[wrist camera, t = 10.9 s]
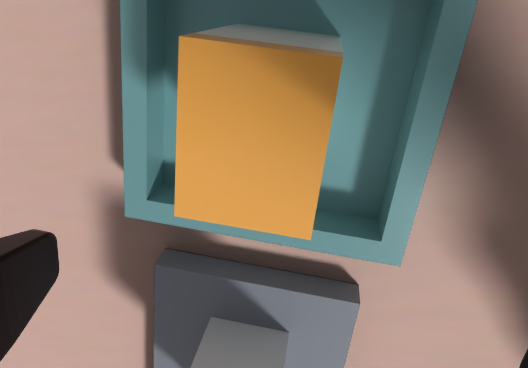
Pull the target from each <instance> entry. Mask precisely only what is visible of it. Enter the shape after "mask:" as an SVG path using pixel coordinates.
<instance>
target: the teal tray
mask: <svg viewBox="0 0 528 368" xmlns="http://www.w3.org/2000/svg"><path fill="white" fill-rule="evenodd" d="M477 1H478V0H120V23H121V69H122V114H123V160H124V205H125V217H129V218H135V219H140V220H146V221H152V222H157V223H163V224H168V225H174V226H179V227H185V228H190V229H196V230H201V231H207V232H212V233H218V234H223V235H229V236H234V237H240V238H245V239H251V240H256V241H262V242H267V243H273V244H278V245H284V246H289V247H295V248H300V249H306V250H311V251H317V252H322V253H328V254H333V255H339V256H344V257H350V258H355V259H361V260H366V261H372V262H377V263H383V264H388V265H394V266H401V262H402V259H403V256H404V252H405V249H406V245H407V242H408V238H409V235H410V232H411V228H412V225H413V221H414V218H415V214H416V211H417V207H418V204H419V201H420V197H421V194H422V190H423V187H424V183H425V180H426V177H427V173H428V170H429V166H430V163H431V159H432V156H433V152H434V149H435V146H436V142H437V139H438V135H439V132H440V128H441V125H442V122H443V118H444V115H445V111H446V108H447V104H448V101H449V97H450V94H451V91H452V87H453V84H454V80H455V77H456V73H457V70H458V67H459V63H460V60H461V56H462V53H463V49H464V46H465V42H466V39H467V36H468V32H469V29H470V25H471V22H472V18H473V15H474V12H475V8H476V5H477ZM238 23H240V24H247V25H255V26H263V27H271V28H279V29H287V30H295V31H303V32H311V33H318V34H326V35H334V36H341V43H342V51H343V62H342V68H341V73H340V79H339V84H338V90H337V96H336V101H335V107H334V112H333V118H332V124H331V129H330V135H329V141H328V146H327V152H326V157H325V163H324V169H323V174H322V180H321V186H320V191H319V197H318V202H317V208H316V214H315V219H314V225H313V230H312V236H311V240H306V239H301V238H295V237H289V236H284V235H278V234H272V233H266V232H261V231H255V230H249V229H244V228H238V227H232V226H226V225H221V224H215V223H209V222H204V221H198V220H192V219H187V218H181V217H175V216H174V204H175V166H176V128H177V90H178V52H179V36H182V35H186V34H191V33H196V32H201V31H205V30H210V29H215V28H220V27H224V26H229V25H234V24H238Z"/></svg>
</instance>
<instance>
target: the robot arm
mask: <svg viewBox="0 0 528 368" xmlns="http://www.w3.org/2000/svg"><path fill="white" fill-rule="evenodd" d="M58 273H59V259H58V248H57V239H56V237H55V235H54V234H53V233H51V232H46V231H41V230H36V229H32V230H28V231H24V232H20V233H17V234H13V235H10V236H6V237H2V238H0V361H1V360H2V359H3V357H4V356H5V355H6V354H7V352H8V351H9V350H10V348H11V347H12V346H13V344H14V343H15V341H16V340H17V339H18V337H19V336H20V334H21V333H22V331H23V330H24V328H25V327H26V325H27V324H28V322H29V321H30V319H31V318H32V316H33V315H34V313H35V312H36V310H37V308H38V307H39V305H40V304H41V302H42V301H43V299H44V298H45V296H46V295H47V293H48V292H49V290H50V289H51V287H52V286H53V284H54V283H55V281H56V279H57V277H58ZM519 368H528V349H527V351H526V353H525V355H524V357H523V359H522V362H521V364H520V367H519Z"/></svg>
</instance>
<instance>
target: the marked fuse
mask: <svg viewBox="0 0 528 368" xmlns="http://www.w3.org/2000/svg"><path fill="white" fill-rule="evenodd" d="M342 62H343V51H342V43H341V36H334V35H326V34H318V33H311V32H303V31H295V30H287V29H279V28H271V27H263V26H255V25H247V24H240V23H238V24H234V25H229V26H224V27H220V28H215V29H210V30H205V31H201V32H196V33H191V34H186V35H182V36H179V52H178V90H177V128H176V166H175V204H174V216H175V217H181V218H187V219H192V220H198V221H204V222H209V223H215V224H221V225H226V226H232V227H238V228H244V229H249V230H255V231H261V232H266V233H272V234H278V235H284V236H289V237H295V238H301V239H306V240H311V236H312V230H313V225H314V219H315V214H316V208H317V202H318V197H319V191H320V186H321V180H322V174H323V169H324V163H325V157H326V152H327V146H328V141H329V135H330V129H331V124H332V118H333V112H334V107H335V101H336V96H337V90H338V84H339V79H340V73H341V68H342Z"/></svg>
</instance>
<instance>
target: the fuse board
mask: <svg viewBox="0 0 528 368" xmlns="http://www.w3.org/2000/svg"><path fill="white" fill-rule="evenodd" d="M359 306H360V297H359V285H357V284H352V283H347V282H341V281H336V280H331V279H325V278H320V277H315V276H309V275H304V274H299V273H293V272H288V271H283V270H277V269H272V268H267V267H261V266H256V265H250V264H245V263H240V262H234V261H229V260H224V259H218V258H213V257H208V256H202V255H197V254H192V253H186V252H181V251H176V250H170V249H165V251H164V252H163V253H162V255H161V256H160V258H159V259H158V261H157V262H156V263H155V276H154V368H191V365H192V363H193V360H194V358H195V355H196V353H197V350H198V348H199V345H200V343H201V340H202V338H203V335H204V333H205V330H206V328H207V325H208V323H209V320H210V318H211V317H215V318H220V319H225V320H230V321H235V322H240V323H245V324H250V325H254V326H259V327H264V328H269V329H274V330H279V331H284V332H289V337H288V344H287V351H286V358H285V365H284V368H344V365H345V361H346V357H347V353H348V349H349V345H350V342H351V338H352V334H353V330H354V326H355V322H356V318H357V314H358V310H359Z"/></svg>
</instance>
